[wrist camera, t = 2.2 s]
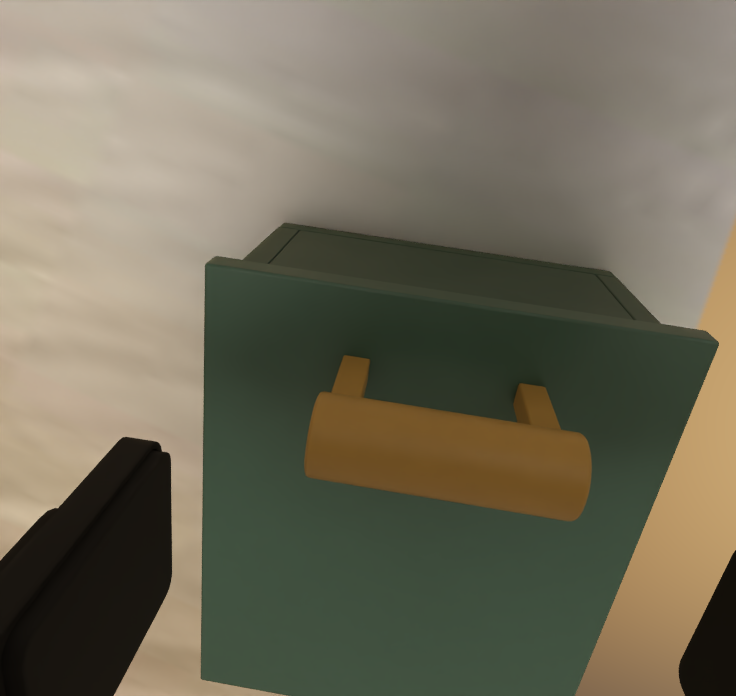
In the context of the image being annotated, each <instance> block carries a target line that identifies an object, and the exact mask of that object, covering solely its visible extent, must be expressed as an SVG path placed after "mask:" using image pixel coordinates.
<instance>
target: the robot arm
mask: <svg viewBox="0 0 736 696" xmlns="http://www.w3.org/2000/svg"><path fill="white" fill-rule="evenodd" d="M171 577H172V525H171V458H170V454H169V453H167V452H162V450H161V446H160V444H159V443H158V442H154V441H148V440H142V439H136V438H130V437H123V438H122V439H120V440H119V441H118V442H117V443H116V444H115V446H114V447H113V448H112V449H111V450H110V451H109V452H108V453H107V455H106V456H105V457H104V458H103V459H102V460H101V461H100V462H99V463H98V465H97V466H96V467H95V468H94V469H93V470H92V471H91V472H90V473H89V475H88V476H87V477H86V478H85V479H84V480H83V481H82V482H81V483H80V485H79V486H78V487H77V488H76V489H75V490H74V491H73V492H72V493H71V495H70V496H69V497H68V498H67V499H66V500H65V501H64V502H63V504H62V505H61V506H60V507H59V508H54V509H51V510H49V511H47V512H46V513H45V514H44V515H43V516H41V517H40V518H39V519H38V520H37V522H36V523H35V524H34V525H33V526H32V527H31V528H30V529H29V530H28V531H27V532H26V533H25V535H24V536H23V537H22V538H21V539H20V540H19V541H18V542H17V543H16V544H15V545H14V546H13V548H12V549H11V550H10V551H9V552H8V553H7V554H6V555H5V556H4V557H3V558H2V560H1V561H0V696H114V694H115V692H116V690H117V688H118V686H119V684H120V683H121V681H122V679H123V677H124V675H125V673H126V671H127V669H128V667H129V665H130V664H131V662H132V660H133V658H134V656H135V654H136V652H137V650H138V648H139V646H140V644H141V643H142V641H143V639H144V637H145V635H146V633H147V631H148V629H149V627H150V625H151V624H152V622H153V620H154V618H155V616H156V614H157V612H158V610H159V608H160V606H161V605H162V603H163V601H164V599H165V597H166V595H167V592H168V590H169V587H170V583H171ZM679 679H680V683H681V686H682V689H683V691H684V694H685V696H736V550H735V552H734V553H733V555H732V557H731V559H730V561H729V563H728V565H727V567H726V569H725V571H724V573H723V575H722V577H721V579H720V581H719V584H718V585H717V587H716V590H715V592H714V594H713V596H712V598H711V600H710V602H709V604H708V606H707V608H706V610H705V612H704V614H703V616H702V618H701V620H700V622H699V624H698V626H697V628H696V630H695V632H694V634H693V636H692V638H691V641H690V642H689V644H688V646H687V649H686V650H685V653H684V655H683V657H682V659H681V661H680V665H679Z"/></svg>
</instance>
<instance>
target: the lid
mask: <svg viewBox="0 0 736 696" xmlns="http://www.w3.org/2000/svg"><path fill="white" fill-rule="evenodd" d="M718 346H719V343H718V341H717V340H715V339H714V338H713V337H712V336H711V335H710V334H709V333H708V332H706V331H703V330H697V329H690V328H683V327H677V326H670V325H664V324H657V323H651V322H644V321H638V320H631V319H625V318H618V317H612V316H605V315H598V314H592V313H585V312H579V311H572V310H566V309H559V308H553V307H546V306H540V305H533V304H527V303H520V302H513V301H507V300H500V299H494V298H487V297H481V296H474V295H468V294H461V293H455V292H448V291H441V290H435V289H428V288H422V287H415V286H409V285H402V284H396V283H389V282H383V281H376V280H370V279H363V278H356V277H350V276H343V275H337V274H330V273H324V272H317V271H311V270H304V269H298V268H291V267H285V266H278V265H271V264H265V263H258V262H252V261H245V260H239V259H232V258H226V257H219V256H216V257H214V258H212V259H211V260H210V261H209V262H207V263H206V265H205V324H204V421H203V518H202V615H201V679H202V680H207V681H212V682H217V683H223V684H228V685H234V686H239V687H245V688H250V689H255V690H261V691H266V692H272V693H277V694H282V695H288V696H575V694H576V691H577V689H578V686H579V684H580V681H581V679H582V677H583V674H584V672H585V669H586V667H587V664H588V662H589V660H590V657H591V655H592V652H593V650H594V648H595V645H596V643H597V640H598V638H599V635H600V633H601V630H602V628H603V625H604V623H605V621H606V618H607V616H608V613H609V611H610V609H611V606H612V604H613V601H614V599H615V596H616V594H617V591H618V589H619V587H620V584H621V582H622V579H623V577H624V574H625V572H626V570H627V567H628V565H629V562H630V560H631V558H632V555H633V553H634V550H635V548H636V545H637V543H638V540H639V538H640V536H641V533H642V531H643V528H644V526H645V523H646V521H647V519H648V516H649V514H650V511H651V509H652V506H653V504H654V501H655V499H656V497H657V494H658V492H659V489H660V487H661V484H662V482H663V480H664V477H665V474H666V472H667V470H668V467H669V465H670V462H671V460H672V458H673V455H674V453H675V450H676V448H677V445H678V443H679V440H680V438H681V436H682V433H683V431H684V428H685V426H686V424H687V421H688V419H689V416H690V414H691V411H692V409H693V407H694V404H695V401H696V399H697V397H698V394H699V392H700V389H701V387H702V385H703V382H704V380H705V377H706V375H707V372H708V370H709V367H710V365H711V363H712V360H713V358H714V356H715V353H716V351H717V348H718Z"/></svg>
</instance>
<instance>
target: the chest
mask: <svg viewBox="0 0 736 696" xmlns="http://www.w3.org/2000/svg"><path fill="white" fill-rule="evenodd" d="M243 260H245V261H252V262H258V263H265V264H271V265H278V266H285V267H291V268H298V269H304V270H311V271H317V272H324V273H330V274H337V275H343V276H350V277H356V278H363V279H370V280H376V281H383V282H389V283H396V284H402V285H409V286H415V287H422V288H428V289H435V290H441V291H448V292H455V293H461V294H468V295H474V296H481V297H487V298H494V299H500V300H507V301H513V302H520V303H527V304H533V305H540V306H546V307H553V308H559V309H566V310H572V311H579V312H585V313H592V314H598V315H605V316H612V317H618V318H625V319H631V320H638V321H644V322H651V323H657V324H661V323H660V322H659V321H658V320H657V319H656V318H655V317H654V316H653V315H652V314H651V313H650V312H649V311H648V310H647V309H646V308H645V307H644V306H643V304H642V303H641V302H640V301H639V300H638V299H637V298H636V297H635V296H634V295H633V294H632V293H631V292H630V291H629V290H628V289H627V288H626V287H625V286H624V285H623V284H622V282H621V281H620V280H619V279H618V278H616V277H615V276H614V275H613V273H612V272H610V271H603V270H597V269H590V268H583V267H577V266H570V265H563V264H557V263H550V262H543V261H536V260H530V259H523V258H516V257H510V256H503V255H496V254H490V253H483V252H476V251H470V250H463V249H456V248H450V247H443V246H436V245H430V244H423V243H416V242H410V241H403V240H396V239H390V238H383V237H376V236H369V235H363V234H356V233H349V232H343V231H336V230H329V229H323V228H316V227H309V226H303V225H296V224H289V223H284V224H283V225H281V226H280V227H278V228H277V229H276V230H275V231H274V232H273V233H272V234H271V235H270V236H268V237H267V238H266V239H265V240H264V241H263V242H262V243H261V244H260V245H258V246H257V247H256V248H255V249H254V250H253V251H252V252H251V253H250V254H248V255H247V256H246V257H245V258H244V259H243Z"/></svg>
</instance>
